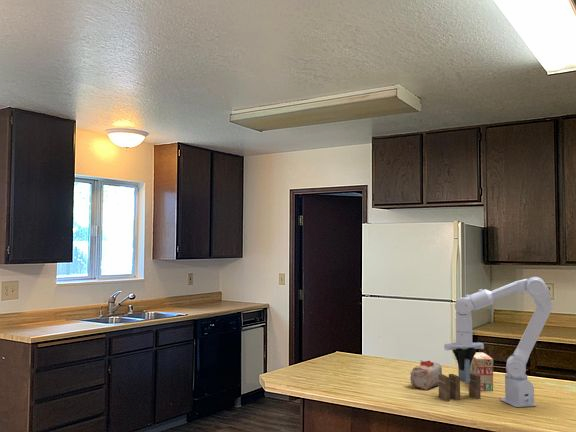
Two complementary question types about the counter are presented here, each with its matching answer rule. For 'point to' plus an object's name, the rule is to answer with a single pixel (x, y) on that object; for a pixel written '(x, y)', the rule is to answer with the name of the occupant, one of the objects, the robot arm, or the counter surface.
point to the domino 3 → (474, 386)
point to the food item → (426, 375)
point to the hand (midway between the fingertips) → (464, 369)
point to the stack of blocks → (483, 370)
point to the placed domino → (465, 372)
